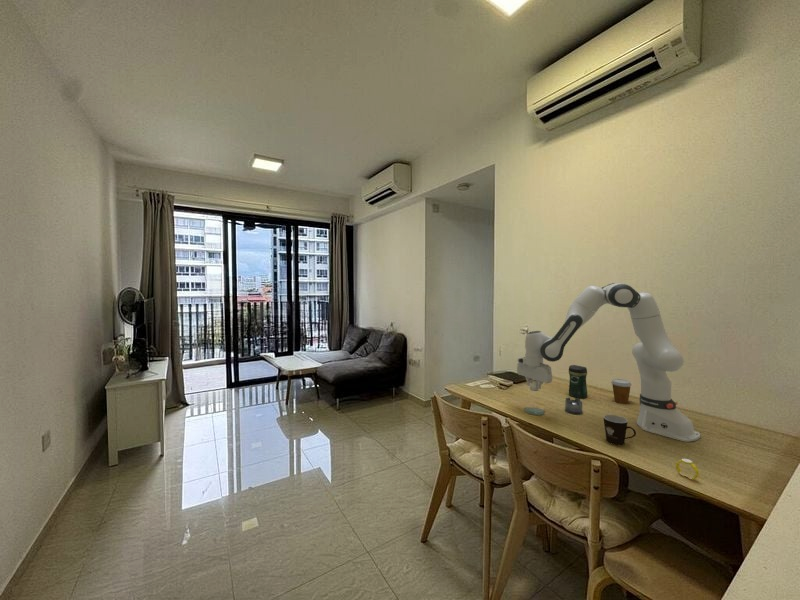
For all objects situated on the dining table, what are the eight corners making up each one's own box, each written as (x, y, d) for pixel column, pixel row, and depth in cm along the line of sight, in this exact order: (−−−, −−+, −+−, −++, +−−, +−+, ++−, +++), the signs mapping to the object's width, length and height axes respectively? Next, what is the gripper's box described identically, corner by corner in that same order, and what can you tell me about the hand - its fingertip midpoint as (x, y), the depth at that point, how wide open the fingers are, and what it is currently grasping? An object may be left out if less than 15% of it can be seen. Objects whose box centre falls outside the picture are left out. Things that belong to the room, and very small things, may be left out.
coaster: (548, 412, 168) (548, 412, 168) (535, 416, 163) (535, 415, 163) (533, 406, 177) (533, 406, 177) (520, 410, 172) (520, 409, 172)
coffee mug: (599, 437, 140) (599, 414, 140) (618, 436, 140) (618, 414, 139) (616, 450, 128) (616, 426, 128) (637, 450, 128) (637, 426, 128)
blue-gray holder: (585, 412, 167) (585, 400, 167) (575, 415, 164) (575, 403, 163) (571, 407, 174) (571, 396, 174) (562, 410, 171) (561, 399, 171)
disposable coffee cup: (634, 402, 180) (634, 381, 180) (627, 406, 175) (627, 384, 174) (615, 397, 188) (615, 377, 188) (608, 401, 183) (608, 380, 182)
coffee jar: (589, 397, 190) (589, 366, 189) (582, 399, 186) (582, 368, 185) (573, 392, 198) (573, 363, 198) (566, 395, 194) (566, 365, 194)
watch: (675, 474, 112) (673, 457, 112) (679, 472, 113) (678, 455, 113) (696, 482, 107) (694, 464, 107) (700, 480, 108) (699, 462, 108)
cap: (534, 391, 166) (534, 382, 166) (527, 389, 170) (527, 380, 170) (540, 390, 169) (540, 380, 169) (534, 387, 173) (534, 378, 172)
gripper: (555, 364, 161) (555, 391, 162) (523, 357, 179) (523, 381, 180) (546, 366, 158) (546, 393, 159) (515, 358, 177) (515, 382, 177)
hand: (534, 386), depth 169 cm, fingers closed on cap, 4 cm apart
